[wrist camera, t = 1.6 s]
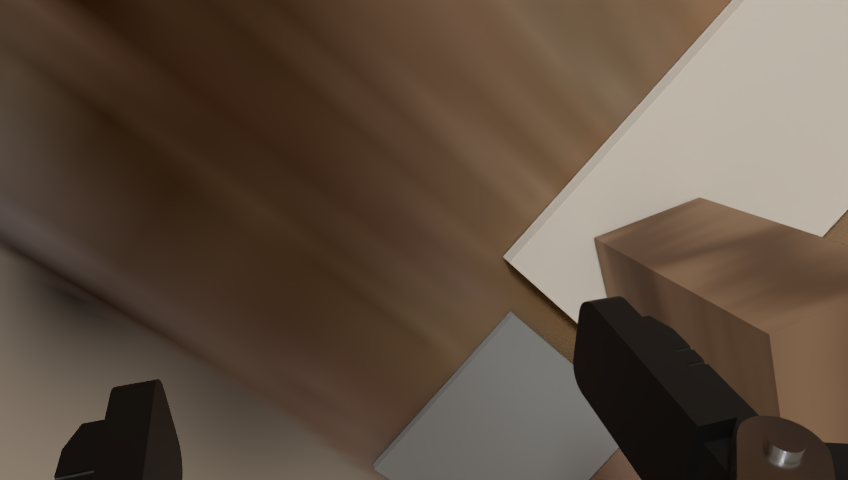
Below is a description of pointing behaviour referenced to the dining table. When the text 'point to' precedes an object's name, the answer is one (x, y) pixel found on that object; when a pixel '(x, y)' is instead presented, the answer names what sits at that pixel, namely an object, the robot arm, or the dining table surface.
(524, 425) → the grey mat
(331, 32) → the dining table surface
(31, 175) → the dining table surface
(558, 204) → the board
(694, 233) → the walnut block
